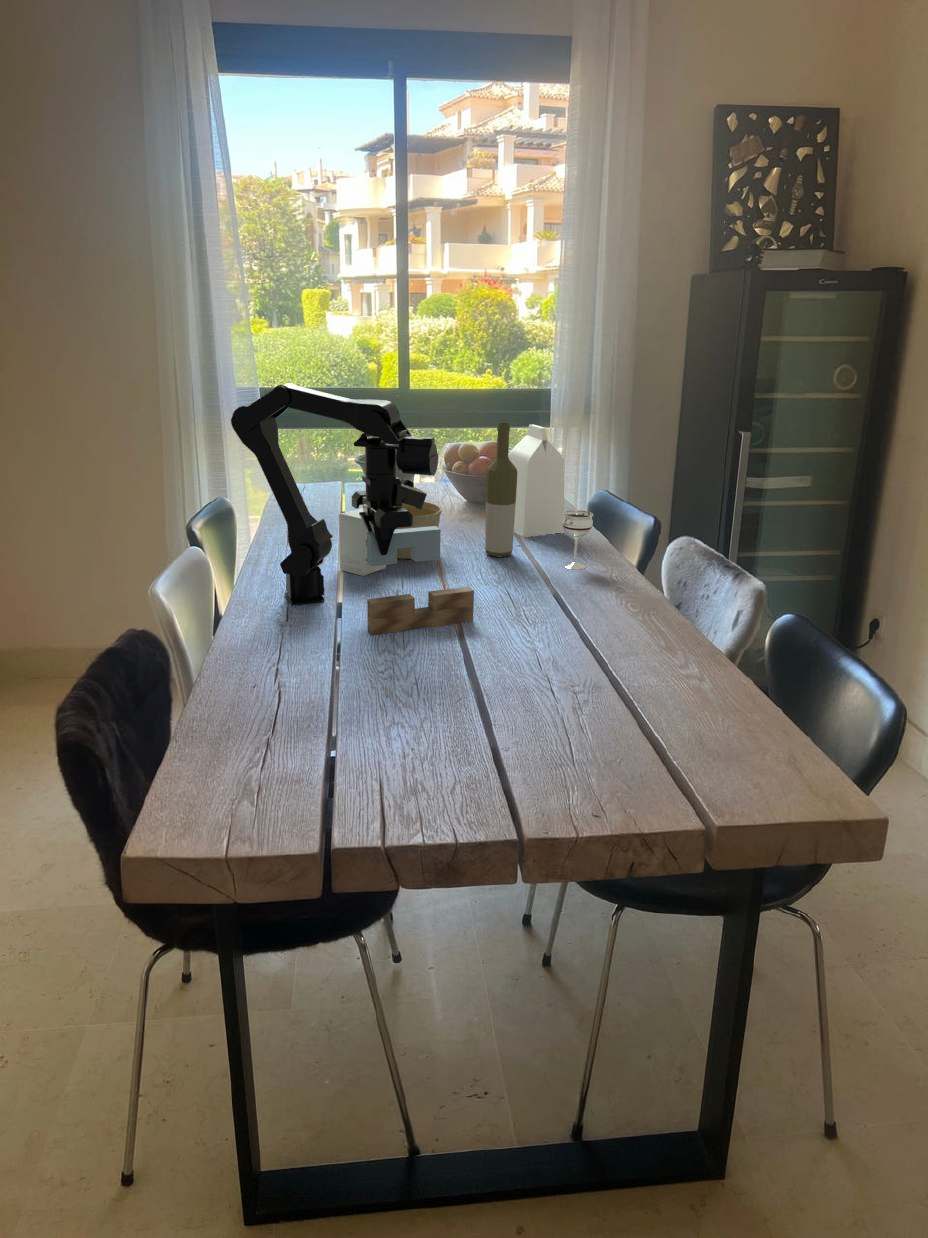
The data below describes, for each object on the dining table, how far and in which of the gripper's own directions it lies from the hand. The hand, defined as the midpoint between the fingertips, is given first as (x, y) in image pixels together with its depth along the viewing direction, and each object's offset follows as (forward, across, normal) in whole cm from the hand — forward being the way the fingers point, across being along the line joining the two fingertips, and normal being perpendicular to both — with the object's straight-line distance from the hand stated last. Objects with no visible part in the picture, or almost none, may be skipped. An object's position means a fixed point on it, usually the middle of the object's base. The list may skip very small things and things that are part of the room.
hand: (381, 552), depth 179 cm
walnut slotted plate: (+11, -12, -4) cm, 16 cm away
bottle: (+11, +25, -37) cm, 46 cm away
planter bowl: (+11, +33, -17) cm, 38 cm away
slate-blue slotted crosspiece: (+2, 0, -4) cm, 5 cm away
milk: (+11, +42, -54) cm, 70 cm away
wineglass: (+11, +11, -49) cm, 52 cm away
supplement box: (+11, +24, -4) cm, 27 cm away
